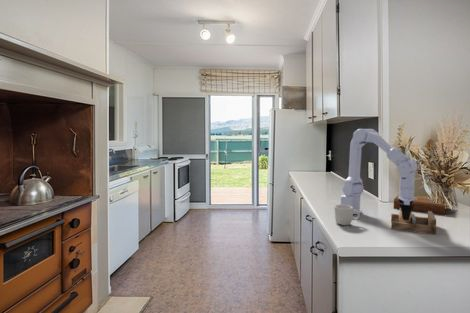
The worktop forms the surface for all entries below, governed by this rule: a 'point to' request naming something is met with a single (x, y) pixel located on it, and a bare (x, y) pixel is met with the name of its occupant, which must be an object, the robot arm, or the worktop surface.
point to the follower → (413, 219)
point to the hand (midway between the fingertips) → (405, 217)
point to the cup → (345, 214)
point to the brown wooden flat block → (423, 205)
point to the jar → (402, 217)
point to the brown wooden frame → (426, 228)
